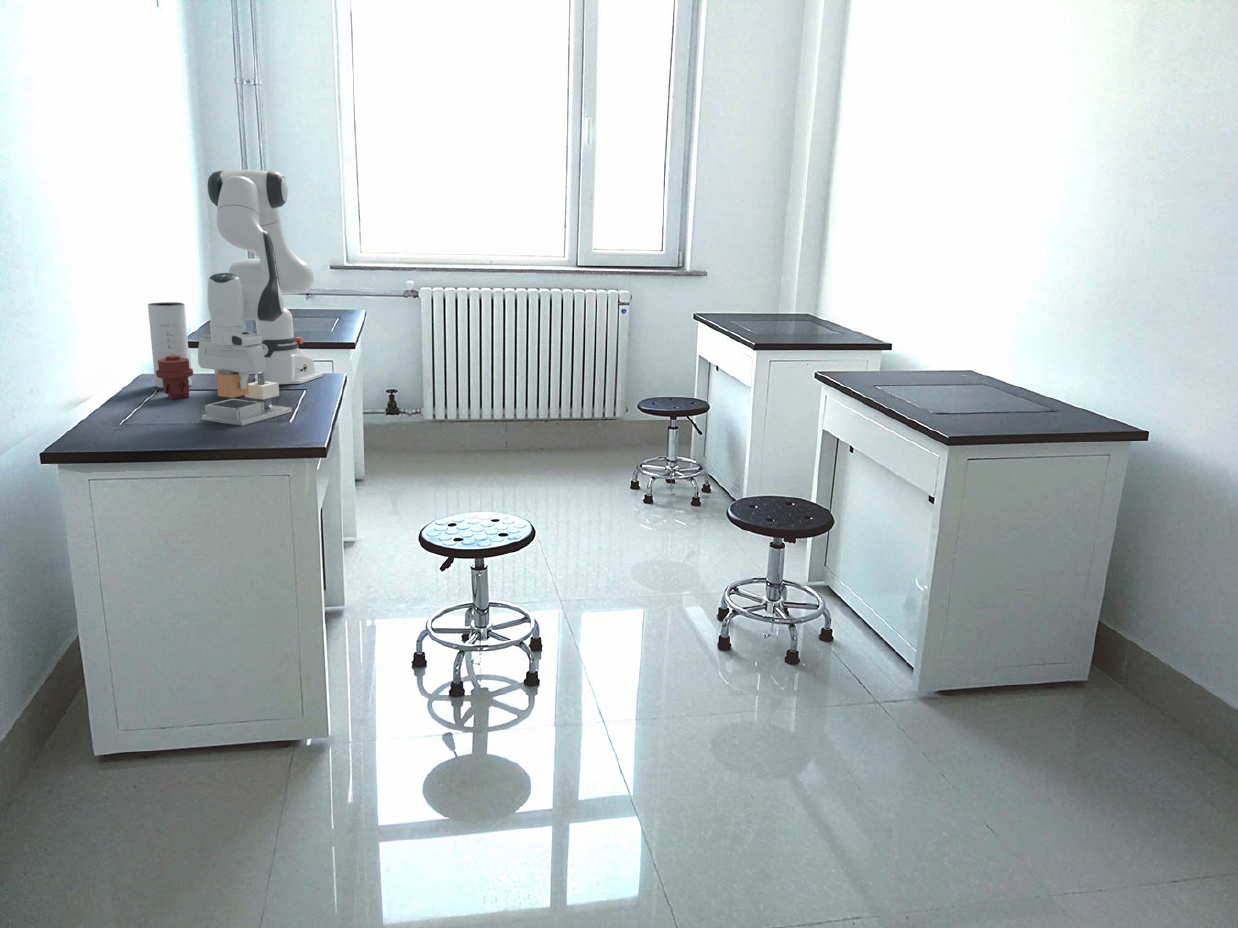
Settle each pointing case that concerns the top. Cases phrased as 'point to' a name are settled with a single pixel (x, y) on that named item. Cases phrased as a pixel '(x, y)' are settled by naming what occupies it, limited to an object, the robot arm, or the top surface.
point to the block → (230, 384)
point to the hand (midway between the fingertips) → (233, 387)
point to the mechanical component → (175, 376)
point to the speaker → (167, 333)
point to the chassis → (243, 409)
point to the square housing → (263, 390)
